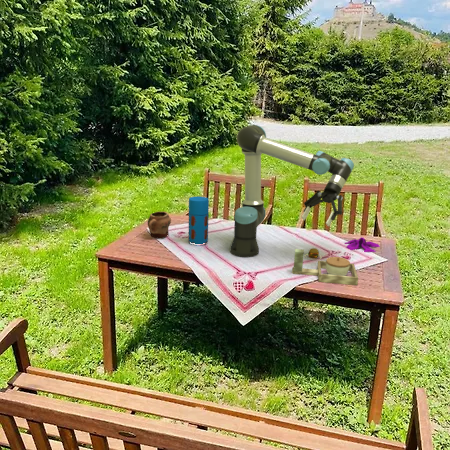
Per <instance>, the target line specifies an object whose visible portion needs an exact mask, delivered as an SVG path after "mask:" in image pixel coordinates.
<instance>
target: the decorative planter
mask: <svg viewBox="0 0 450 450" xmlns="http://www.w3.org/2000/svg"><path fill="white" fill-rule="evenodd" d="M171 223H172V218H171V217H170V215H169V213H168V212H167V211H154V212H151V213H150V215H149V218H148V220H147V226H148V230H149V233H150V236H151V237H152V238H153V237H154V239H164V238H163V237H165V238H167V237H168V236H169V228H170V225H171ZM167 235H168V236H167ZM166 236H167V237H166Z"/></svg>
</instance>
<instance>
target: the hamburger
mask: <svg viewBox="0 0 450 450" xmlns="http://www.w3.org/2000/svg"><path fill="white" fill-rule="evenodd" d="M319 253H320V251H319V249H318V248H314V247H311V248H310V249H309V250H308V252H307V253H306V254H305V253H304V256H303V258H306V259H307V260H311V261H313V260H317V261H320V260H321V259H322V258H323V257H322V255H321V254H319ZM306 256H307V257H308V258H307V257H306ZM319 257H320V258H319ZM318 258H319V259H318Z"/></svg>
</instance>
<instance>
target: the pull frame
mask: <svg viewBox="0 0 450 450" xmlns="http://www.w3.org/2000/svg"><path fill="white" fill-rule="evenodd" d="M304 252H305V249H302V248H295V249H294V259H293V260H294V261H293V267H292V272H291V273H293V274H295V275H305V276H306V275H307V276H316V277H318V278H317V279H318V282H319V283H329V284H340V285H349V286H350V285H351V286H358V283H359V275H358V272H357V269H356V267H355V263H351V262H350V265H349V270H348V272H351V276H347V275H345V276H339V275H329V274H328V273H326V274H325V273H322V269H323V270H326V260H317V267H316V269H315V268H305V267H304V268H303V265H304V264H303V263H304V255H305V253H304Z"/></svg>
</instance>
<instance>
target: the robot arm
mask: <svg viewBox="0 0 450 450" xmlns="http://www.w3.org/2000/svg"><path fill="white" fill-rule="evenodd" d="M236 143H237V145H238V146H239V147H240V149H241V152H242V154H243V155H244V200H242V203H241V204H242V206H241V207H238V208H237V209H235V211H234V212H235V213H234V227H233V228H234V232H233V234H234V235H233V236H234V237H233V239H232V242H231V245H230V249H229V252H230V254H232V255H233V256H236V257H240V258H241V257H242V258H251V257H256V256H257V255H259V252H260V247H259V244H258V240H257V230H258V229H257V228H258V226H260V225H261V223H263V221H264V220H265V217H266V214H267V213H266V209H265V207H264V206H265V205H264V201H263V199H262V154H263V155H265V156H269V157H272V158H274V159H278V160H280V161H283V162H287V163H289V164H292V165H294V166H295V165H296V166H298V167H302V168H304V169H306V170H309V171H311V172H313V173H315V174H316V175H318V176H319V175H320V176H321V175H326V174H327V173H330V174H331V176H330V178H329V179H328V182H327V184H326V185H325V187H324V189H323V191H322V192H321V191H320V190H317V191H315V193H314V194H313V195H312V196H311V197H309V198H308V199H307V200H306V201H305V202H303V205H304V209H303V214H302V215H301V218H302V220H303V221H306V220H307V218H308V215H309V214H310V212H311V209H312V208H314V207H315V206H317V205H318V204H320V203H327V204H331V207H332V210H333V211H332V212H331V213H330V214H329V217H328V218H327V220H326V222H325V224H326V226H327V227H330V226H331V224H332V222H333V221H335V219H336V218H337V216H338V215H340V216H341V215H343V199H344V198H343V196H342V194H341V191H342V190H343V188H344V186H345V184H346V182H347V181H348V178H349V177H350V175H351V174H352V172H353V169H354V168H355V163H354V162H353V160H351V159H350V158H346V157H342V158H341V159H337V158H335V157H333V156H332V155H330V154H328V153H326V152H324V151H322V150H318V151H316V153H315V154H314V153H311V152H308V151H306V150H302V149H300V148H297V147H294V146H291V145H288V144H286V143H282V142H280V141H276V140H273V139H270V138H267V133H266V131H265V129H264V128H263V127H262V126H260V125H258V124H251V125H248V126H244V127H242V128H240V129H239V130H238V132H237V134H236ZM336 200H337V206H336V203H335V201H336Z"/></svg>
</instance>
